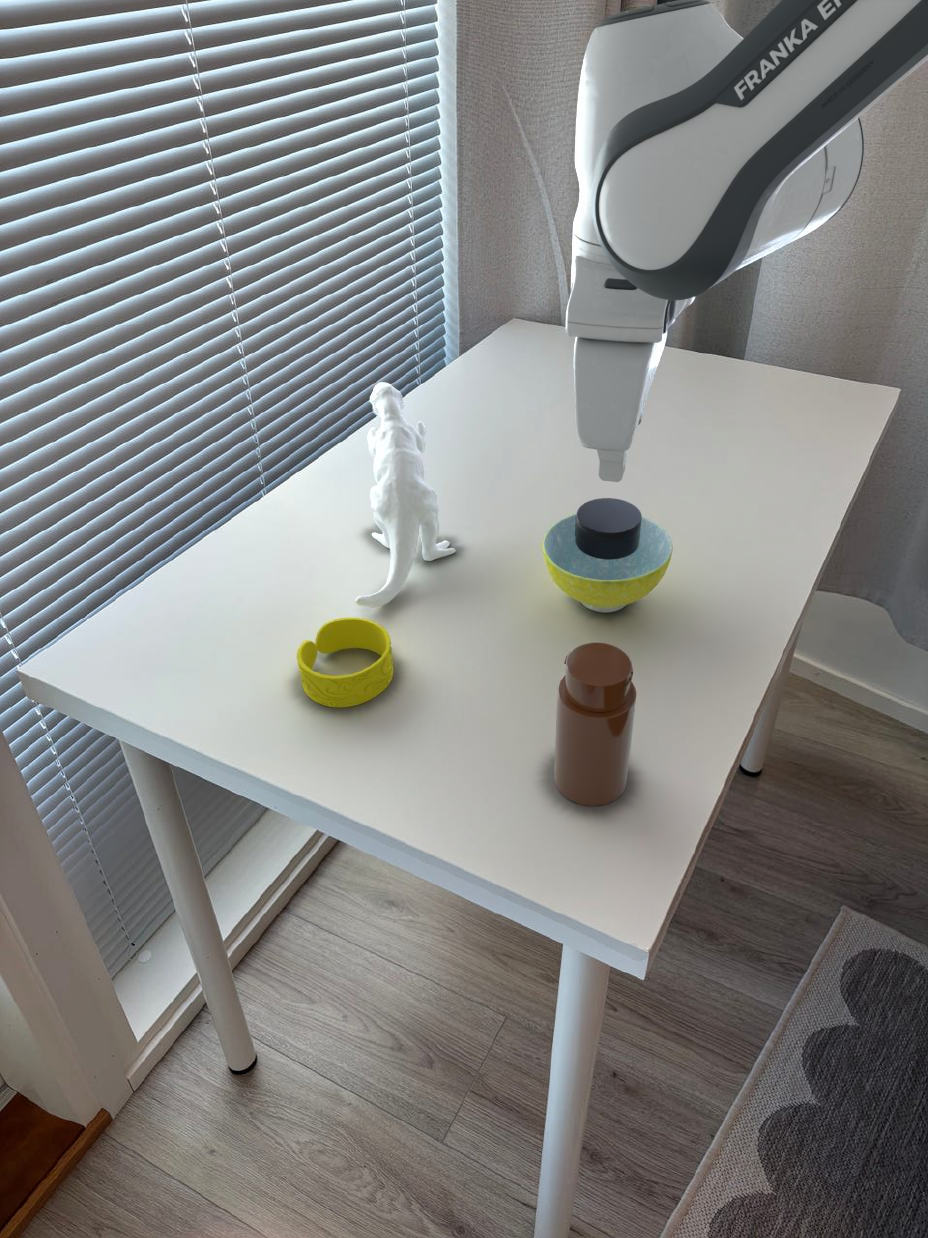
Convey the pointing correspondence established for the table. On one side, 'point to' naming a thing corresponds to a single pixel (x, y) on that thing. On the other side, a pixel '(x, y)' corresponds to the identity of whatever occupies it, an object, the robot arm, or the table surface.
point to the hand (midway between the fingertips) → (622, 447)
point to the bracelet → (353, 685)
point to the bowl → (606, 567)
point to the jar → (594, 724)
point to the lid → (608, 528)
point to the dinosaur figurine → (400, 493)
